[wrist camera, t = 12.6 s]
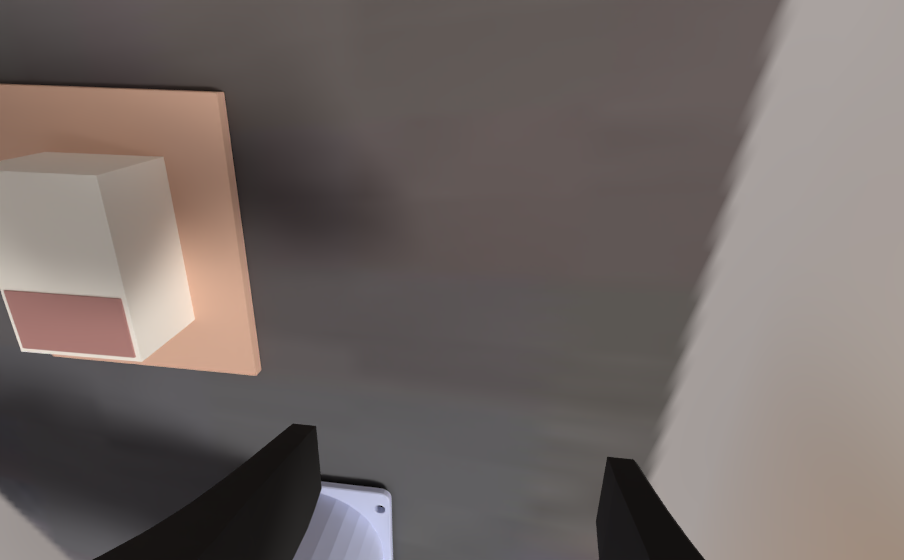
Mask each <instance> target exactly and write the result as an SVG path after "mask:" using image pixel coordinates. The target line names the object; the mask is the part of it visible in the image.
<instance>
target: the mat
mask: <svg viewBox="0 0 904 560" xmlns="http://www.w3.org/2000/svg"><path fill="white" fill-rule="evenodd" d="M42 152H62V153H86V154H111V155H135V156H160V157H164V161H165V166H166V172H167V177H168V182H169V187H170V192H171V198H172V203H173V208H174V213H175V218H176V223H177V229H178V234H179V239H180V244H181V249H182V255H183V260H184V265H185V270H186V275H187V280H188V286H189V291H190V296H191V301H192V306H193V312H194V317H195V320H194V321H193V322H191V323H190V324H189V325H188V326H186V327H185V328H184V329H183V330H181V331H180V332H179V333H178V334H176V335H175V336H174V337H173V338H171V339H170V340H169V341H168V342H166V343H165V344H164V345H163V346H161V347H160V348H159V349H158V350H156V351H155V352H154V353H153V354H151V355H150V356H149V357H148V358H146V359H145V360H144V361H143V362H137V361H125V360H114V359H102V358H91V357H79V356H68V355H57V354H52V355H53V356H57V357H67V358H77V359H88V360H98V361H109V362H119V363H129V364H140V365H150V366H161V367H171V368H181V369H192V370H202V371H213V372H223V373H233V374H244V375H254V376H256V375H257V374H258V373H259V372H260V371H261V364H260V356H259V349H258V341H257V334H256V326H255V319H254V311H253V304H252V297H251V289H250V282H249V274H248V267H247V259H246V252H245V244H244V237H243V230H242V222H241V215H240V207H239V200H238V192H237V185H236V177H235V170H234V163H233V155H232V148H231V140H230V133H229V125H228V118H227V110H226V103H225V96H224V92H215V91H188V90H160V89H133V88H106V87H78V86H51V85H23V84H0V161H2V160H7V159H12V158H17V157H22V156H27V155H32V154H37V153H42Z"/></svg>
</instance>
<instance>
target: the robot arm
mask: <svg viewBox="0 0 904 560" xmlns="http://www.w3.org/2000/svg"><path fill="white" fill-rule="evenodd" d="M378 505H381V506H383V507H380V506H378ZM596 526H597V539H598V551H599V560H705V559H704V558H703V557H702V555H701V554H700V553H699V552H698V550H697V549H696V548H695V547H694V545H693V544H692V543H691V541H690V540H689V539H688V537H687V536H686V535H685V533H684V532H683V530H682V529H681V528H680V526H679V525H678V524H677V522H676V521H675V520H674V518H673V517H672V516H671V514H670V513H669V511H668V510H667V508H666V507H665V505H664V504H663V502H662V501H661V500H660V498H659V497H658V495H657V494H656V492H655V491H654V489H653V488H652V486H651V484H650V483H649V481H648V480H647V478H646V477H645V475H644V474H643V472H642V470H641V469H640V467H639V466H638V464H637V463H636V462H635V461H634V460H633V459H623V458H614V457H607V462H606V467H605V473H604V479H603V484H602V490H601V496H600V502H599V507H598V513H597V519H596ZM93 560H393V538H392V499H391V494H390V493H389V492H388V491H387V490H385V489H382V488H374V487H366V486H357V485H349V484H340V483H332V482H323V481H321V475H320V464H319V453H318V442H317V431H316V426H310V425H301V424H292V425H291V426H289V427H288V428H287V429H286V430H284V431H283V432H282V433H281V434H279V435H278V436H277V437H276V438H275V439H273V440H272V441H271V442H270V443H268V444H267V445H266V446H265V447H264V448H262V449H261V450H260V451H259V452H257V453H256V454H255V455H254V456H252V457H251V458H250V459H249V460H248V461H246V462H245V463H244V464H242V465H241V466H240V467H239V468H237V469H236V470H235V471H234V472H232V473H231V474H230V475H228V476H227V477H226V478H225V479H223V480H222V481H220V482H219V483H218V484H216V485H215V486H214V487H212V488H211V489H209V490H208V491H207V492H205V493H204V494H202V495H201V496H200V497H198V498H197V499H196V500H194V501H193V502H191V503H190V504H188V505H187V506H185V507H184V508H182V509H181V510H179V511H178V512H176V513H175V514H173V515H172V516H170V517H168V518H167V519H165V520H163V521H162V522H160V523H159V524H157V525H155V526H154V527H152V528H150V529H149V530H147V531H145V532H144V533H142V534H140V535H138V536H136V537H134V538H133V539H131V540H129V541H127V542H125V543H123V544H121V545H120V546H118V547H116V548H114V549H112V550H110V551H108V552H107V553H105V554H103V555H101V556H99V557H97V558H95V559H93Z"/></svg>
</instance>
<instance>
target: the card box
mask: <svg viewBox="0 0 904 560" xmlns="http://www.w3.org/2000/svg"><path fill="white" fill-rule="evenodd" d="M0 291H1V293H2V296H3V299H4V302H5V305H6V308H7V311H8V314H9V317H10V320H11V323H12V325H13V328H14V331H15V334H16V337H17V340H18V343H19V346H20V349H21V351H22V352H34V353H45V354H57V355H68V356H79V357H91V358H102V359H114V360H125V361H137V362H143V361H144V360H145V359H146V358H148V357H149V356H150V355H151V354H153V353H154V352H155V351H156V350H158V349H159V348H160V347H161V346H163V345H164V344H165V343H166V342H168V341H169V340H170V339H171V338H173V337H174V336H175V335H176V334H178V333H179V332H180V331H181V330H183V329H184V328H185V327H186V326H188V325H189V324H190V323H191V322H193V321H194V320H195V317H194V312H193V306H192V301H191V296H190V291H189V286H188V280H187V275H186V270H185V265H184V260H183V255H182V249H181V244H180V239H179V234H178V229H177V223H176V218H175V213H174V208H173V203H172V198H171V192H170V187H169V182H168V177H167V172H166V166H165V161H164V157H160V156H135V155H111V154H86V153H62V152H42V153H37V154H32V155H27V156H22V157H17V158H12V159H7V160H2V161H0Z"/></svg>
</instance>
